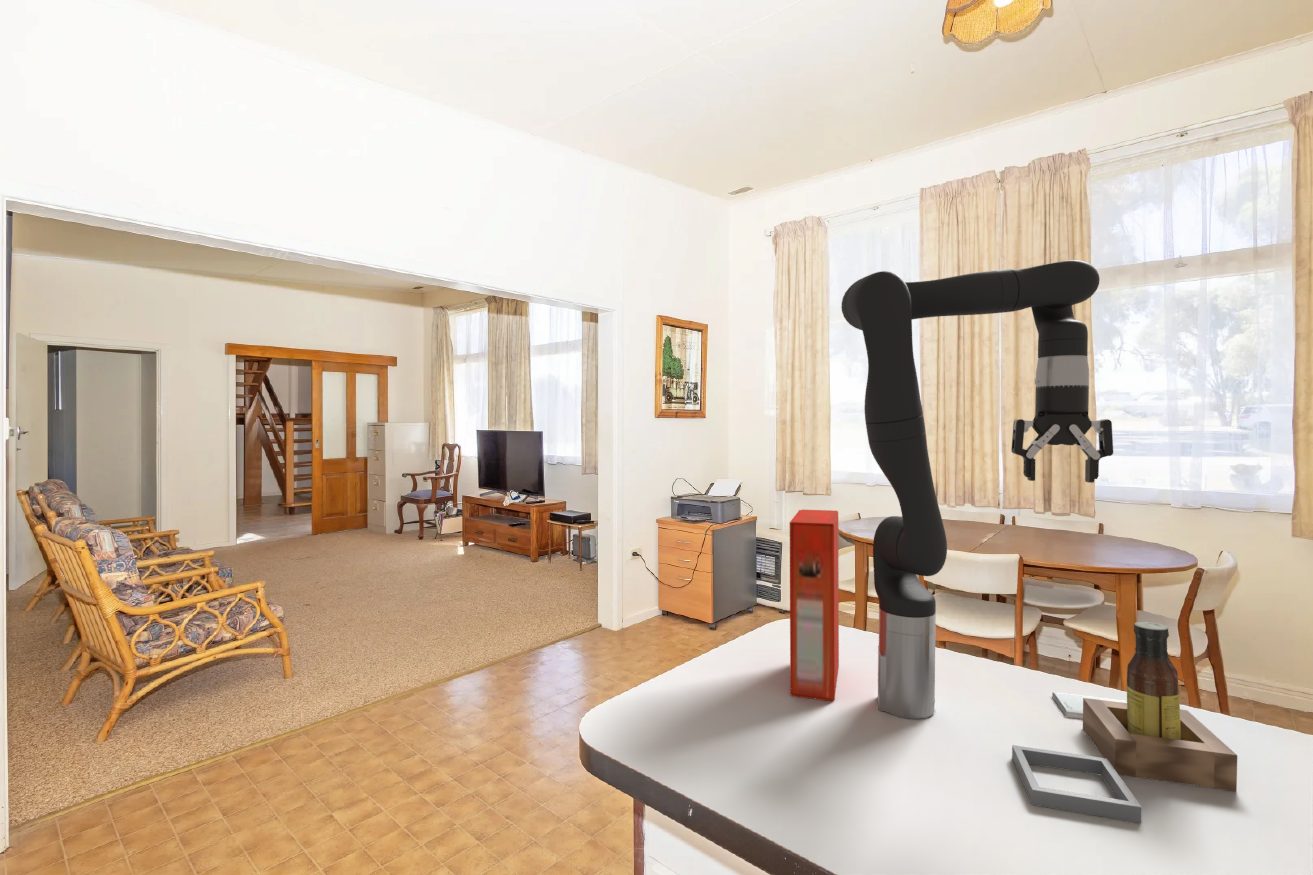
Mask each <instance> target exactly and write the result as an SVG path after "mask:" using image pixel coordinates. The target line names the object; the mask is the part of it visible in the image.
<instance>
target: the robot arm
mask: <svg viewBox="0 0 1313 875" xmlns="http://www.w3.org/2000/svg"><path fill="white" fill-rule="evenodd" d="M1099 285H1100V275H1099V272H1098V270H1097V269H1096V267H1095V266H1093V265H1092V264H1090V263H1088V262H1086V261H1084V260H1077V259H1073V260H1072V259H1071V260H1070V259H1069V260H1063V261H1057V262H1049V263H1047V264H1040V265H1036V266H1031V267H1024V268H1008V269H999V270H998V269H997V270H988V271H987V270H985V271H978V272H973V273H966V274H960V275H959V274H958V275H956V276H949V277H945V278H939V279H931V280H923V281H907V282H906V281H905V280H904V279H903V278H901V277H900V276H899V275H898V274H896V273H894V272H892V271H885V270H884V271H877V272H874V273H871V274H869V275H866V276H864V277H861V278H860V279H858V280H856V281H855V282H853V283H852V284H851V285H850V286H849V287H848V289H847V290H846V291H845V292H844V295H843V297H842V299H841V306H840V307H841V308H840V309H841V312H842V315H843V318H844V319H845V320H846V322H847V323H848V324H849V325H850V326H851V327H853V328H855V329H857V330H860V331H861V332H862V335H863V340H864V344H865V349H866V354H867V356H866V357H867V363H868V366H867V367H868V368H867V379H866V386H865V394H864V421H865V422H864V423H865V428H866V434H867V439H868V445H869V449H870V452H871V455H872V456H873V459H874V461H875V462H876V464H877V465H878V467H879V468H880V470H881V471H882V473H883V474H884V476H885V477H886V479H887V481H888V482H889V484H890V485H891V487H892V489H893V490H894V492H895V495H896V497H897V499H898V503H899V507H900V512H901V516H898V515H897V516H896V515H894V516H893V515H892V516H888V517H886V518H884V519H882V520H881V522H879V524H878V525H877V528H876V529H875V532H874V536H873V541H872V542H873V543H872V562H873V564H872V565H873V581H874V582H873V583H874V584H873V585H874V590H875V594H876V595H877V598H878V646H877V707H878V711H883V712H886V713H889V714H890V715H894V716H897V717H900V718H906V719H915V720H916V719H926V718H929V717H931V716H934V713H935V704H936V698H935V696H936V692H935V691H936V688H935V687H936V624H937V623H936V622H937V621H936V609H937V608H936V607H937V606H936V602H937V601H936V598H935V596H934V595H933V593H931V592H930V591H929V590H928V589H927V588H926V587H925V586H924V585H923V584H922V583H921V582H920V580H919V578H918V576H921V577H922V576H923V577H933V576H935V575H937V574H938V573H939V572H941V570H942V569H943V568H944V566H945V563H946V559H947V555H948V544H947V542H948V541H947V534H946V530H945V525H944V522H943V519H942V514H941V510H940V507H939V504H938V499H937V495H936V490H935V484H934V482H933V481H934V480H933V475H932V469H931V468H932V467H931V463H930V458H929V450H928V443H927V440H928V439H927V431H926V423H925V417H924V410H923V406H922V400H921V394H920V386H919V381H918V375H917V373H918V372H917V369H916V363H915V357H914V347H913V343H914V342H913V322H912V321H913V320H917V319H918V320H919V319H927V318H936V317H950V316H951V317H953V316H954V317H955V316H956V317H957V316H977V315H991V314H1003V313H1010V312H1011V313H1012V312H1017V311H1022V310H1026V309H1029V308H1031V312H1032V316H1033V320H1034V324H1035V327H1036V330H1037V334H1038V339H1037V363H1036V369H1035V379H1034V386H1035V394H1034V395H1035V398H1034V399H1035V402H1034V404H1035V406H1034V410H1035V411H1034V418H1033V420H1024V419H1022V418H1021V419H1018V418H1017V419H1015V420H1014V421H1013V426H1012V438H1011V450H1010V451H1011V453H1012V454H1013V455H1017V456H1021V458H1022V459H1023V469H1022V470H1023V476H1024V477H1025V478H1027V481H1029V482H1035V481H1036V459H1035V458H1034V457H1036V455H1037V454H1038V453H1039V452H1040V451H1041V450H1042V449H1043V448H1044V447H1045V446H1046V445H1049V446H1060V445H1064V446H1074V445H1076V446H1077V448H1079V450H1081V451H1082V453H1083V454H1084V455H1085V456H1086V457H1087V459H1085V465H1084V467H1085V468H1084V481H1085V482H1086V483H1089V484H1090V483H1091V484H1092V483H1095V480H1098V477H1099V476H1100V474H1099V473H1100V472H1099V468H1100V460H1101V459H1103V458H1105V457H1111V456H1112V455H1114V443H1113V442H1114V440H1113V439H1114V438H1113V421H1111V419H1106V418H1105V419H1099V420H1091V419H1090V416H1089V407H1090V406H1089V404H1090V403H1089V402H1090V401H1089V400H1090V399H1089V397H1090V396H1089V395H1090V368H1089V366H1090V365H1089V360H1088V353H1089V352H1088V349H1089V348H1088V347H1089V343H1088V342H1089V332H1088V331H1089V330H1088V327H1087V324H1086V323H1085V322H1083V321H1081V320H1076V319H1075V315H1074V311H1073V306H1075V305H1078V304H1080V303H1083V302H1085V301H1087V300H1088V299H1089V298H1092V297H1093V295H1094V294H1095V293H1096V292H1097V290H1098V288H1099ZM1030 428H1032V429H1033V430H1034V431H1035V433H1036V434H1037V435H1036V437H1035V438H1034V439H1033V440H1032V441H1031V443H1030V444H1029V445H1028V447H1027V448H1026V449H1025V448H1024V437H1025V436H1024V435H1025V433H1027V432H1029V429H1030ZM1091 428H1093V430H1094V432H1095V433H1096V434H1098V448H1099V449H1096V448H1095V446H1094V445H1093V443H1092V442H1091V440H1089V439H1088V437H1087V436H1086V434H1087V433H1088V432H1089V430H1091Z"/></svg>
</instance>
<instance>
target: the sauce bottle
mask: <svg viewBox="0 0 1313 875" xmlns="http://www.w3.org/2000/svg"><path fill="white" fill-rule="evenodd" d="M1133 632H1134V635H1135V648H1134V653H1133V654H1134V655H1133V656H1132V658H1131V659H1130V660H1129V662H1128V663H1127V671H1126V673H1127V674H1126V701H1127V716H1128V732H1129V733H1130V734H1138V735H1145V736H1153V737H1161V738H1168V739H1176V740H1181V730H1180V709H1181V708H1180V707H1181V705H1180V701H1181V700H1180V691H1179V677H1178V676H1179V675H1178V670H1177V668H1176V667H1175V666H1174V664H1173V663H1172V661H1171V659H1170V658H1169V653H1168V641H1167V640H1168V638H1169V637H1170V635H1169V634H1170V633H1169V628H1168V626H1166V625H1164V624H1161V623H1157V622H1152V621H1137V622H1134V624H1133Z"/></svg>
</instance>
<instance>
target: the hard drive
mask: <svg viewBox="0 0 1313 875" xmlns="http://www.w3.org/2000/svg"><path fill="white" fill-rule="evenodd" d="M1083 698H1088V699H1097V700H1105V701H1113V702H1122V703H1127V700H1123V699H1122V700H1121V699H1114V698H1113V699H1112V698H1105V697H1096V696H1091V695H1090V696H1088V695H1080V694H1074V693H1073V694H1072V693H1063V692H1054V691H1053V692H1052V699H1053V700H1054V701H1055V703H1056V704H1057V706H1058V707H1059V709H1060V710H1061V712H1062V713H1063V714H1064V716H1065V717H1066V718H1074V719H1082V720H1083Z"/></svg>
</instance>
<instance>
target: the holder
mask: <svg viewBox="0 0 1313 875" xmlns="http://www.w3.org/2000/svg"><path fill="white" fill-rule="evenodd" d="M1082 729H1083V731H1084V732H1085V734H1086V735H1087V737H1088V738H1089V740H1091V742H1092V743H1093V745H1094V746H1095V748H1096V749H1097V750H1098V752H1099V753H1100V754H1101V756H1102V758H1107V759H1108V761H1109V762H1110V764H1111V765H1112V766H1113V768H1114V769H1115V771H1116V772H1117V773H1118V775H1121V776H1122V775H1123V776H1128V777H1135V778H1136V777H1137V778H1142V779H1148V780H1156V781H1162V782H1163V781H1164V782H1170V783H1175V784H1184V785H1190V786H1196V787H1202V788H1203V787H1204V788H1209V789H1217V790H1223V791H1230V792H1235V793H1236V792H1237V791H1238V790H1237V787H1238V786H1237V785H1238V784H1237V781H1238V780H1237V778H1238V754H1237V753H1236V752H1234V751H1233V750H1232V749H1231V748H1230V747H1229V746H1228V745H1227V744H1225V743H1224V742H1223V741H1222V740H1221V739H1220V738H1219V737H1218V736H1216V735H1215V734H1214V732H1212V731H1211V730H1210V729H1209V728H1208V727H1206V725H1204V724H1203V723H1202V722H1201V721H1200V720H1199V719H1198V718H1196V717H1195V715H1193V714H1192V713H1191V712H1190V711H1189V710H1187V709H1181V708H1180V730H1181V740H1176V739H1168V738H1161V737H1153V736H1145V735H1138V734H1130V733H1129V732H1128V716H1127V703H1122V702H1113V701H1105V700H1097V699H1088V698H1083V719H1082Z"/></svg>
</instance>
